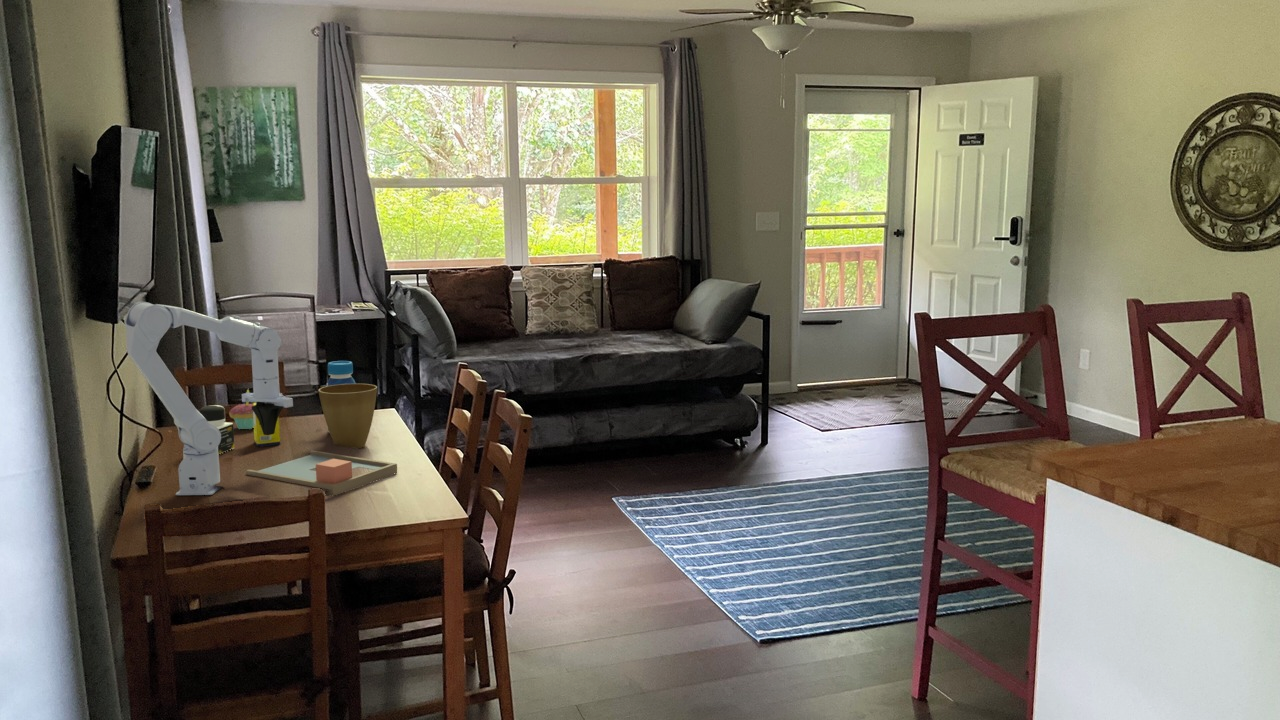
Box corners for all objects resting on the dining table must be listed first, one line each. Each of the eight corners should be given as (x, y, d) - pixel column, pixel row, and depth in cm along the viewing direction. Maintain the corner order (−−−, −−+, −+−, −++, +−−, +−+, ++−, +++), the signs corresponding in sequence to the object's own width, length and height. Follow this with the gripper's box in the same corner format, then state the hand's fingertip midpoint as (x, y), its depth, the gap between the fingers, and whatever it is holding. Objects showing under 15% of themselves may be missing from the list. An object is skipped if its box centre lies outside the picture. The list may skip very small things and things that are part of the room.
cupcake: (268, 427, 278) (266, 386, 276) (242, 432, 271) (240, 391, 269) (249, 423, 282) (247, 383, 280) (223, 429, 275) (221, 388, 273)
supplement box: (280, 444, 258) (278, 404, 256) (257, 447, 255) (254, 407, 253) (277, 440, 263) (275, 400, 261) (254, 442, 260) (251, 403, 258)
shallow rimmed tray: (246, 480, 224) (246, 470, 224) (313, 459, 243) (313, 450, 242) (333, 496, 212) (333, 486, 212) (397, 473, 231) (396, 463, 231)
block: (316, 483, 217) (315, 464, 216) (334, 477, 222) (333, 458, 221) (334, 486, 214) (334, 467, 214) (352, 480, 219) (351, 461, 219)
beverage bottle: (362, 428, 277) (359, 360, 274) (352, 435, 268) (349, 365, 265) (333, 428, 277) (330, 359, 274) (323, 435, 269) (319, 364, 266)
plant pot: (390, 444, 259) (388, 386, 256) (347, 456, 246) (344, 395, 244) (353, 437, 266) (350, 380, 264) (309, 448, 254) (306, 389, 251)
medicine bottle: (218, 455, 246) (215, 409, 244) (193, 454, 248) (190, 408, 246) (235, 448, 253) (232, 404, 251) (211, 447, 254) (208, 403, 253)
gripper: (301, 377, 225) (304, 434, 227) (257, 372, 231) (260, 427, 233) (278, 382, 218) (281, 440, 220) (233, 377, 225) (236, 433, 227)
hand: (269, 434), depth 226 cm, fingers closed
